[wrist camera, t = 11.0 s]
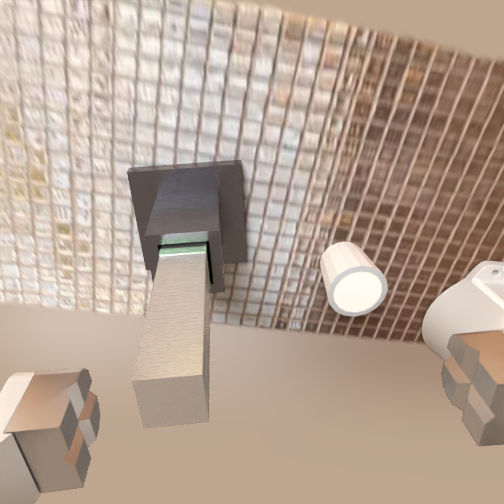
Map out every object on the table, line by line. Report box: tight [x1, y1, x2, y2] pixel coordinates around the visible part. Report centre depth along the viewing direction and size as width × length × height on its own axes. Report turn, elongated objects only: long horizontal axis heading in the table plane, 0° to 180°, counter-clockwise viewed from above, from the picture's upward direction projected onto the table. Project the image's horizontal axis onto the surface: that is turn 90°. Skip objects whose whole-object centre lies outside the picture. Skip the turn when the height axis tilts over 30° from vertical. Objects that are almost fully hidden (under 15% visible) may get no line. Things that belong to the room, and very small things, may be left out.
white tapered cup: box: [320, 242, 387, 317], centre depth 52 cm, size 7×7×7 cm
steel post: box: [132, 241, 211, 428], centre depth 34 cm, size 4×4×18 cm
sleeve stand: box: [127, 160, 247, 293], centre depth 45 cm, size 12×12×12 cm
